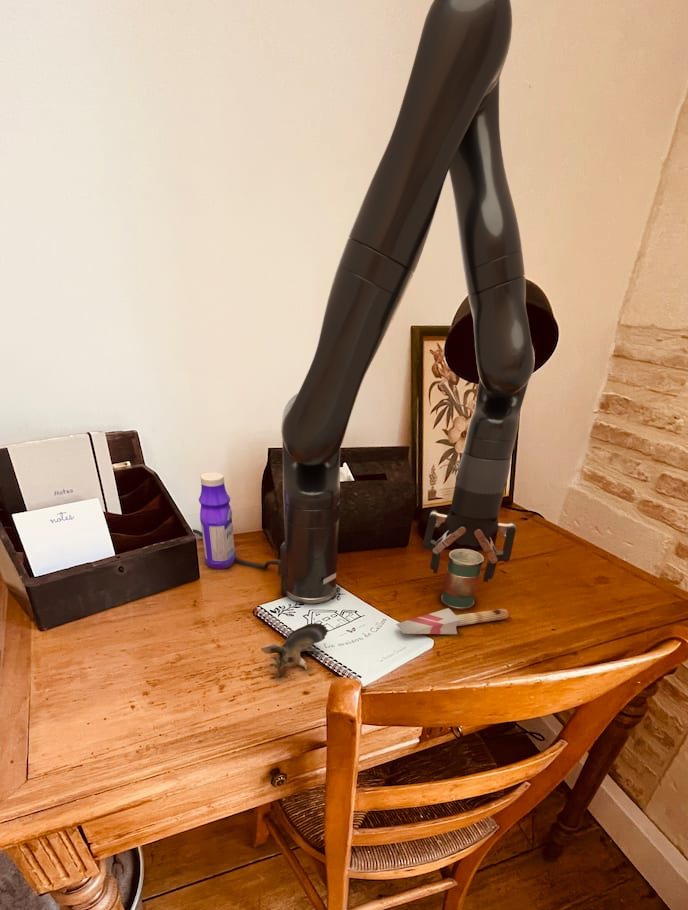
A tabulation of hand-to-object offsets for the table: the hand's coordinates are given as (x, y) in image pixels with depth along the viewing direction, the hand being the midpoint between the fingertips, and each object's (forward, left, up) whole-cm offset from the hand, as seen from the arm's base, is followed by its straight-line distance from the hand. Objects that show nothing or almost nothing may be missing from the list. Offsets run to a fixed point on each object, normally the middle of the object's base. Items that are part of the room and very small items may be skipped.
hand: (460, 575), depth 90 cm
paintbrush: (0, -8, -6) cm, 10 cm away
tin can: (0, +1, -6) cm, 6 cm away
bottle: (-46, +1, -6) cm, 46 cm away
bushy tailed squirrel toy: (-22, -25, -6) cm, 34 cm away
